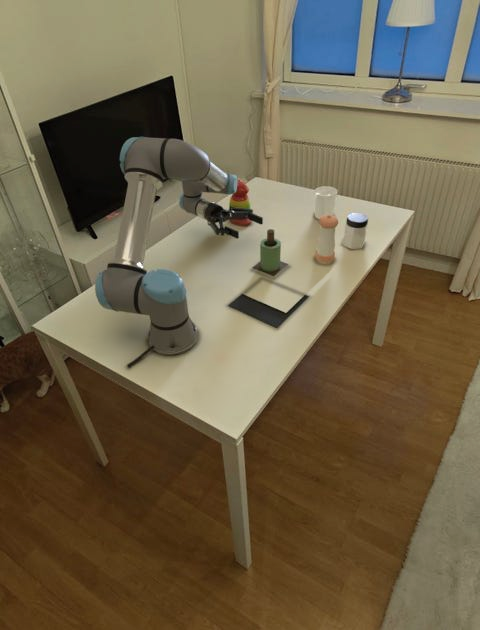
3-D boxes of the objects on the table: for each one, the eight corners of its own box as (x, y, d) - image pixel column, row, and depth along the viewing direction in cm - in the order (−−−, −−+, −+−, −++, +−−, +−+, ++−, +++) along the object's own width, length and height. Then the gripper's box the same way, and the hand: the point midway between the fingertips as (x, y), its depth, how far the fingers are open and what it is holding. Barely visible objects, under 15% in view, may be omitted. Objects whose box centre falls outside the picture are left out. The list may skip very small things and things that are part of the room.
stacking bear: (249, 226, 191) (249, 188, 180) (227, 224, 193) (225, 186, 181) (254, 215, 199) (253, 177, 188) (232, 213, 201) (230, 176, 190)
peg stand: (273, 279, 160) (274, 240, 150) (251, 270, 165) (251, 232, 154) (288, 266, 166) (290, 229, 155) (266, 258, 171) (267, 221, 160)
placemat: (276, 328, 139) (276, 327, 139) (228, 305, 149) (228, 304, 149) (308, 296, 151) (308, 296, 151) (261, 278, 161) (261, 277, 160)
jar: (361, 251, 172) (366, 224, 165) (341, 247, 175) (344, 220, 167) (365, 240, 179) (370, 214, 171) (346, 237, 181) (349, 210, 174)
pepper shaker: (325, 267, 165) (330, 221, 152) (311, 259, 169) (314, 214, 157) (337, 260, 168) (343, 215, 156) (323, 252, 173) (328, 208, 160)
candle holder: (309, 212, 199) (311, 188, 191) (328, 209, 201) (331, 184, 193) (318, 222, 192) (320, 197, 184) (338, 218, 194) (341, 193, 186)
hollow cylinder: (272, 273, 161) (273, 250, 154) (256, 267, 164) (256, 244, 158) (283, 264, 165) (284, 241, 159) (267, 258, 169) (267, 236, 162)
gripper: (232, 208, 182) (271, 224, 171) (188, 232, 168) (227, 250, 157) (231, 192, 177) (271, 206, 166) (186, 214, 163) (226, 232, 152)
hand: (250, 228), depth 162 cm, fingers open, 13 cm apart
